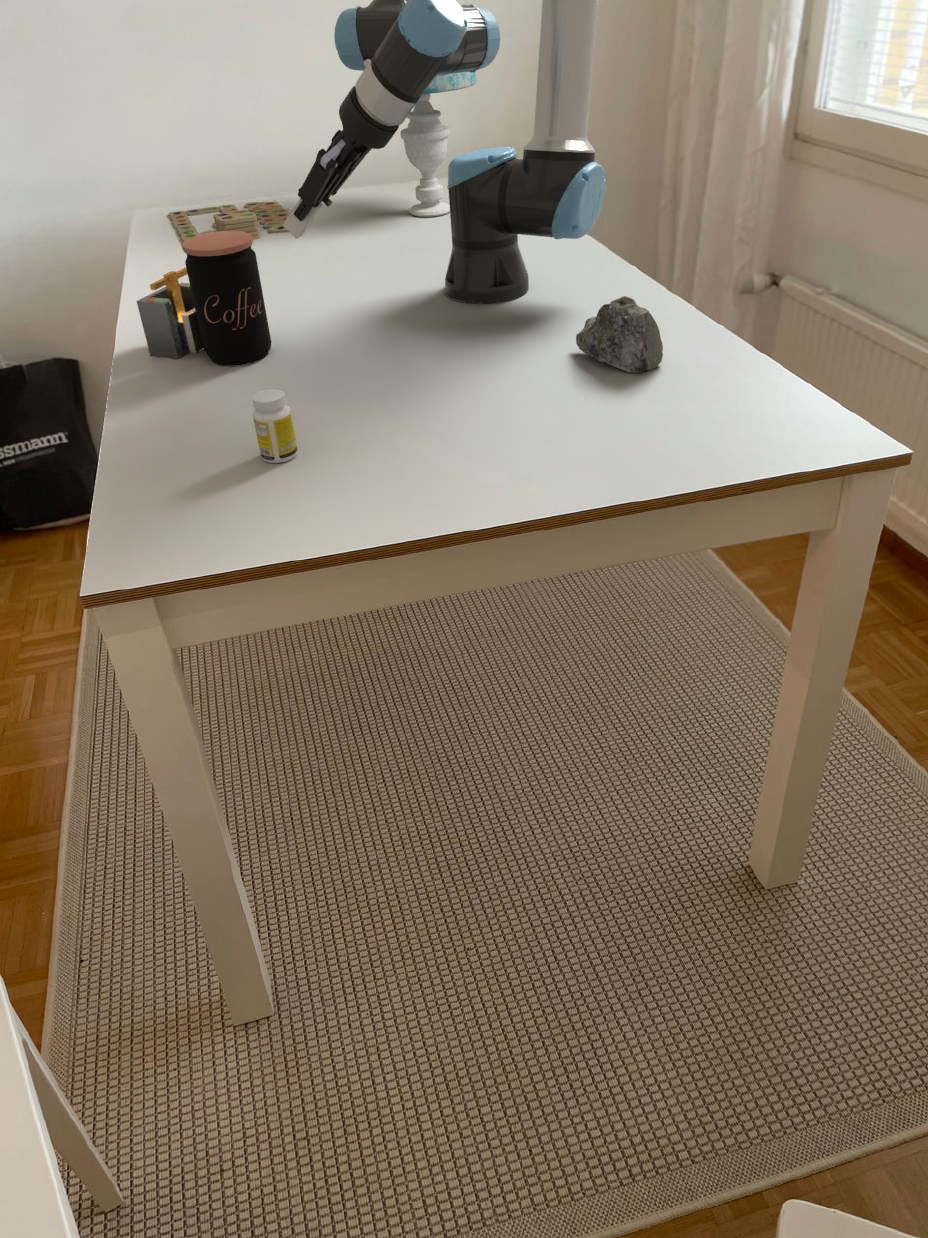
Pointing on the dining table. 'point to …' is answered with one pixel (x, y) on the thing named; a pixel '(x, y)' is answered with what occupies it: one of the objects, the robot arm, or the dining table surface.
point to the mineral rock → (622, 336)
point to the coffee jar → (228, 297)
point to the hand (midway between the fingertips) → (292, 230)
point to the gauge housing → (164, 322)
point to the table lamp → (431, 143)
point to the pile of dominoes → (235, 219)
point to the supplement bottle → (274, 426)
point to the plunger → (181, 311)
